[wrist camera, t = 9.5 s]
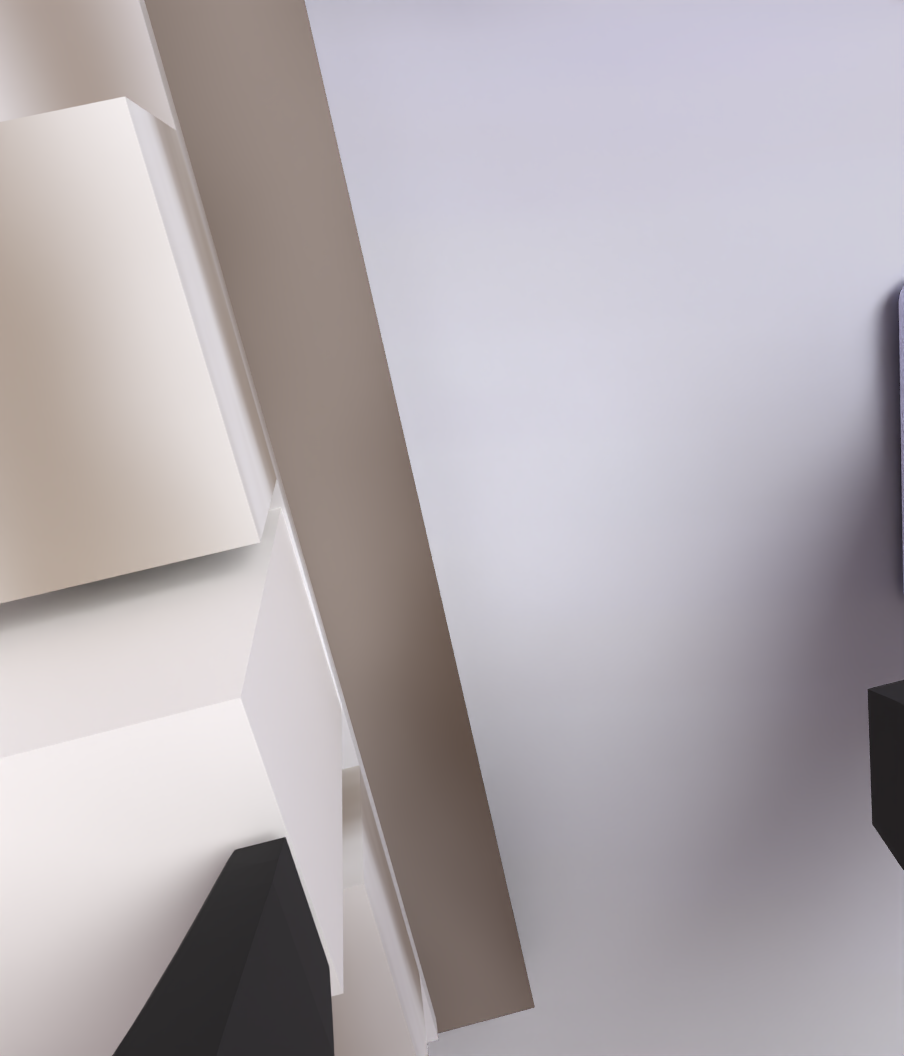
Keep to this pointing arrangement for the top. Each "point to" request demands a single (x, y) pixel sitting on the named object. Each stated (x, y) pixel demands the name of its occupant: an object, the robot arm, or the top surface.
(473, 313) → the top surface
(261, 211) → the rail board
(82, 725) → the block
